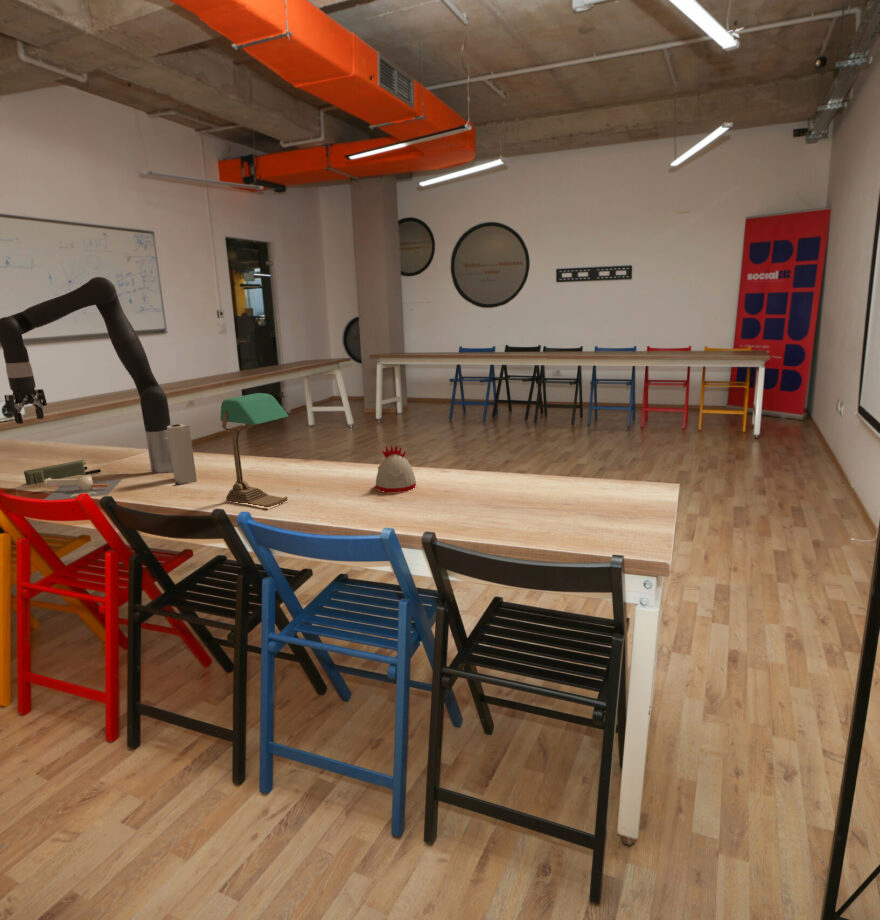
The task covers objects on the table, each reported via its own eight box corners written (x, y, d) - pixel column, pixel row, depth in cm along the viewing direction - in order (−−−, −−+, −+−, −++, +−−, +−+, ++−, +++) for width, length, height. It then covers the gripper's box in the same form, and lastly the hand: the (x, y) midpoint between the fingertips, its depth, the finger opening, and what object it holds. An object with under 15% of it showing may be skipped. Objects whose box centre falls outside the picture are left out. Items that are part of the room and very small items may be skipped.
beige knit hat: (376, 482, 221) (373, 441, 217) (414, 480, 222) (413, 439, 218) (375, 494, 207) (373, 450, 203) (416, 491, 208) (415, 448, 204)
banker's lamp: (254, 491, 215) (242, 390, 206) (299, 499, 204) (289, 394, 195) (217, 504, 201) (203, 398, 192) (263, 513, 191) (251, 402, 182)
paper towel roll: (172, 482, 228) (163, 425, 223) (188, 478, 233) (180, 422, 227) (181, 485, 224) (172, 428, 218) (197, 481, 228) (189, 425, 222)
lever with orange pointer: (112, 486, 220) (110, 475, 219) (105, 490, 216) (103, 478, 215) (52, 487, 221) (50, 476, 220) (44, 491, 217) (42, 479, 215)
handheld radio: (26, 487, 229) (99, 472, 246) (28, 489, 227) (102, 474, 244) (23, 470, 227) (96, 456, 244) (25, 472, 225) (99, 458, 242)
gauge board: (122, 482, 231) (122, 478, 230) (107, 498, 212) (107, 494, 212) (64, 487, 227) (63, 483, 226) (43, 504, 208) (42, 499, 207)
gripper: (11, 378, 207) (21, 425, 212) (46, 372, 221) (55, 417, 225) (-7, 378, 209) (4, 425, 213) (29, 372, 222) (38, 417, 227)
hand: (30, 421), depth 219 cm, fingers open, 8 cm apart
